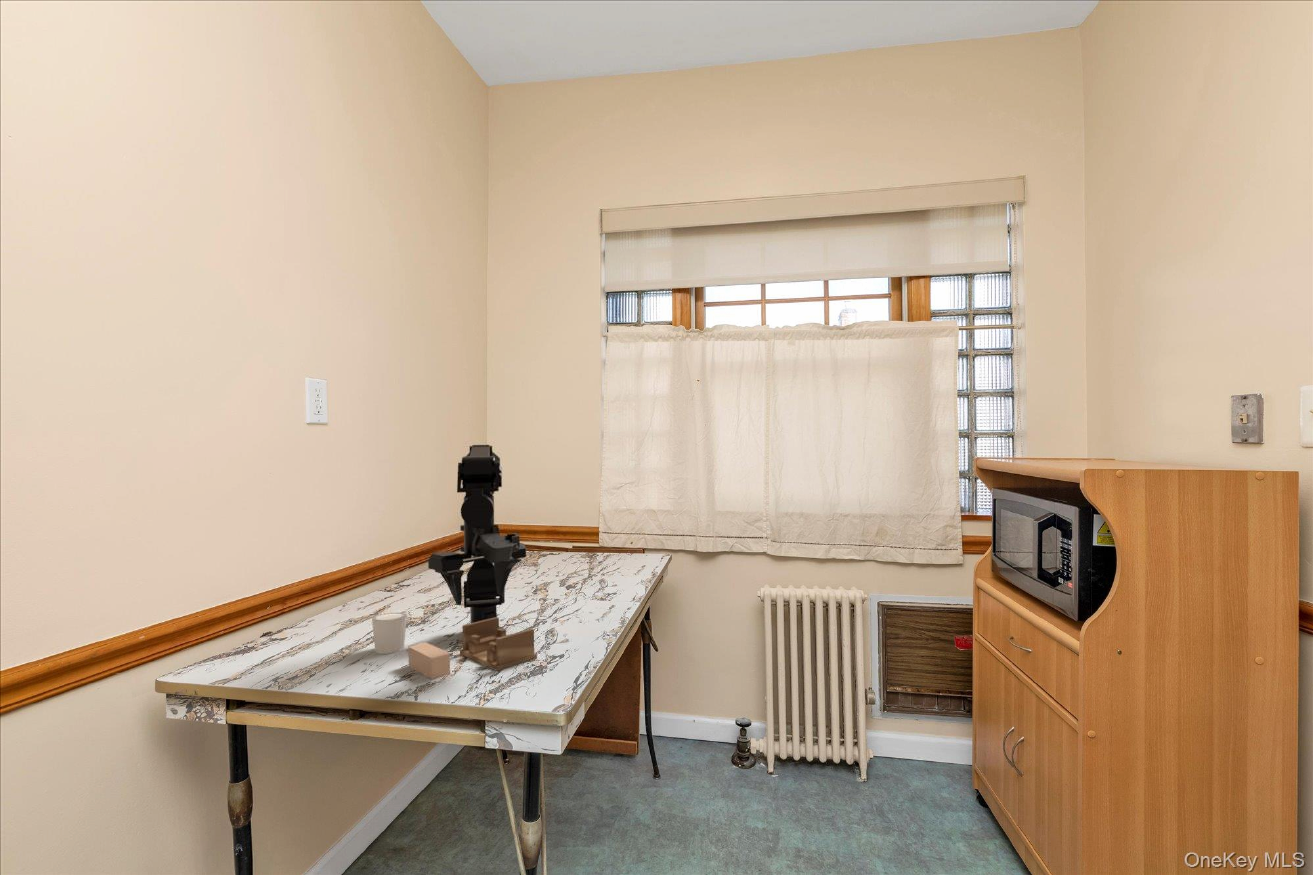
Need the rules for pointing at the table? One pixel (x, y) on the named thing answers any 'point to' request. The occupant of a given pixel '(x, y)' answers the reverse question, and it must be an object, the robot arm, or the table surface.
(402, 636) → the white tapered cup
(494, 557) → the robot arm
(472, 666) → the table surface
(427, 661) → the tan rectangular block
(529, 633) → the rack
